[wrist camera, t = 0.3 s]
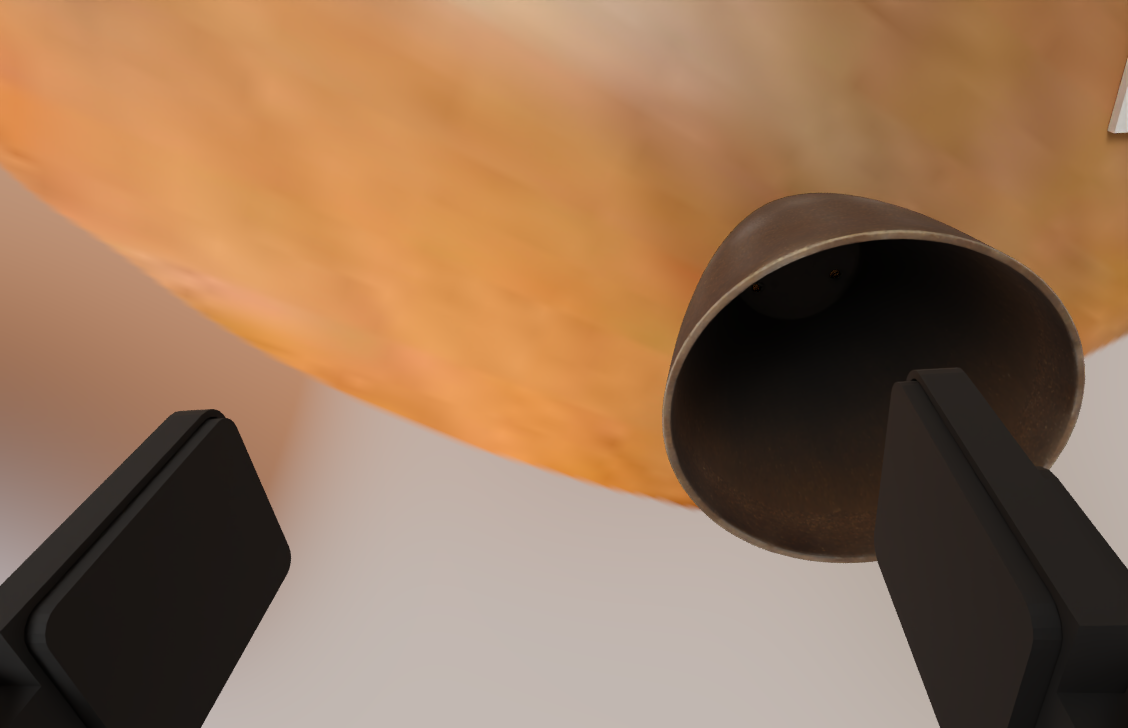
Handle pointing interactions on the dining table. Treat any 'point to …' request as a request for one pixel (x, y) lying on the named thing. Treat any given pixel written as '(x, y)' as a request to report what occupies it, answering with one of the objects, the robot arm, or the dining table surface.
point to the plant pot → (849, 364)
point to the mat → (1120, 107)
